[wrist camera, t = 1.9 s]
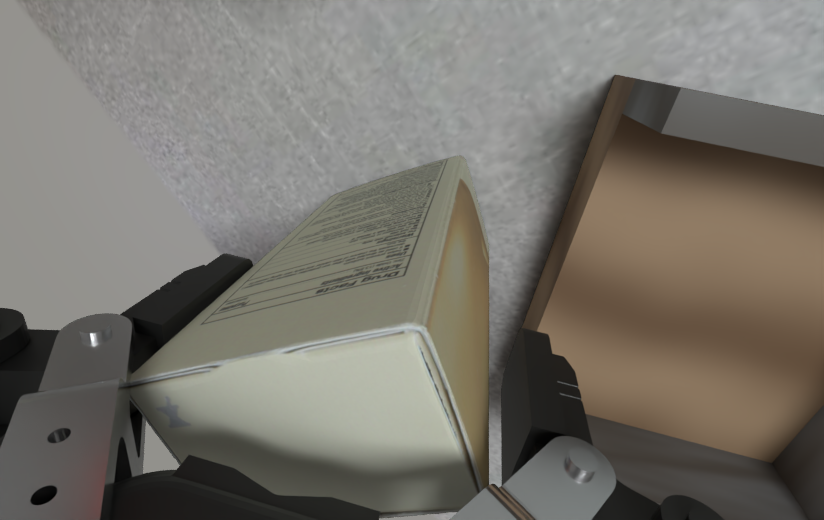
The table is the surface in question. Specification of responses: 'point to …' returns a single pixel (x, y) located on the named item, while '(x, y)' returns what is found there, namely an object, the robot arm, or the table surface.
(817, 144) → the open-sided tray
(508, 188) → the table surface
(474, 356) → the skincare box
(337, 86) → the table surface
